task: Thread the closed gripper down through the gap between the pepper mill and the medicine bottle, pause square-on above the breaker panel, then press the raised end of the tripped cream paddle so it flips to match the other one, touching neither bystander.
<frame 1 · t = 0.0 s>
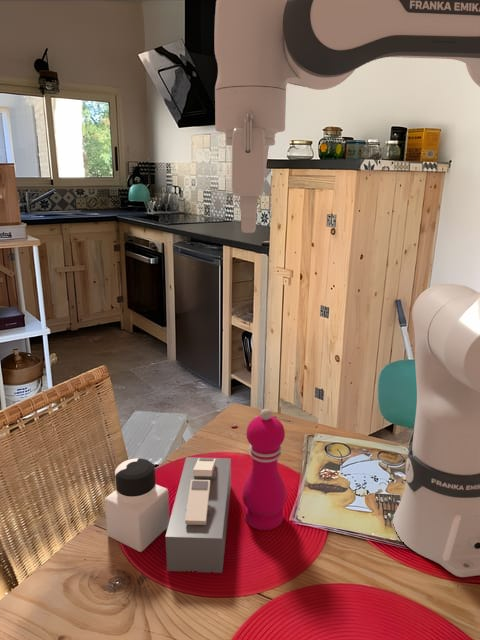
hand: (249, 227, 67), 48 cm above the table, fingers open, 8 cm apart
paddle on: (198, 501, 75), point 8 cm above the table, hinge at -18.0°
paddle tripped: (204, 466, 83), point 8 cm above the table, hinge at 18.0°
medicine bottle: (139, 532, 80), on the table
pepper mill: (263, 518, 83), on the table
breaker panel: (202, 524, 81), on the table
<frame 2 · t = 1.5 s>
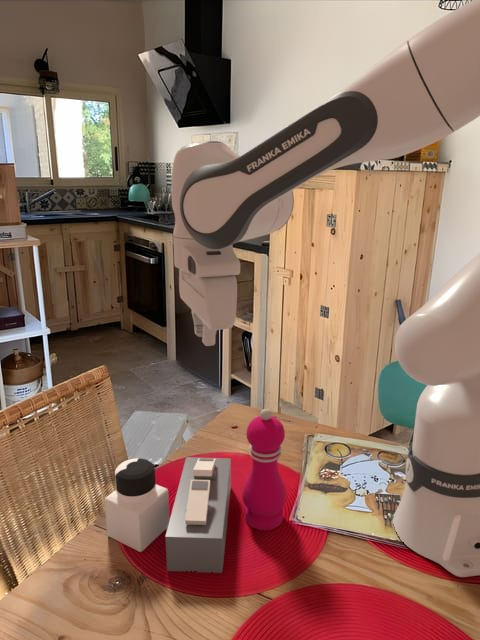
hand: (204, 339, 80), 29 cm above the table, fingers open, 3 cm apart
nothing on the table moved.
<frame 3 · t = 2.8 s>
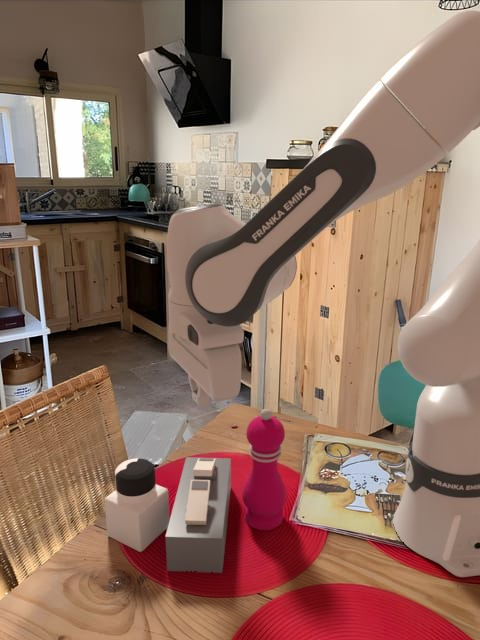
hand: (200, 402, 77), 21 cm above the table, fingers closed
nothing on the table moved.
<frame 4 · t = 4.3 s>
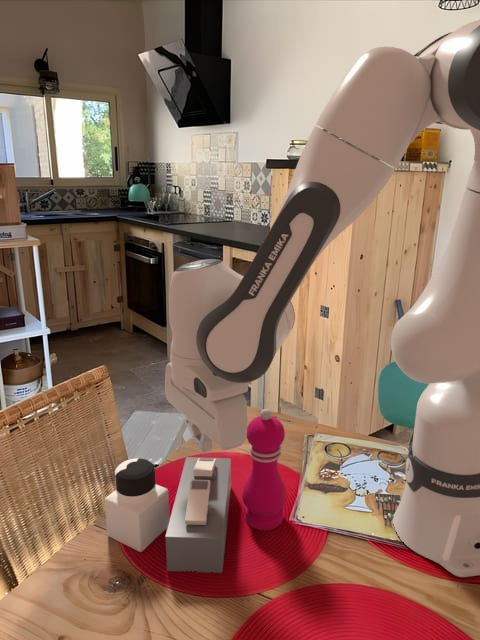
hand: (202, 447, 79), 13 cm above the table, fingers closed
nothing on the table moved.
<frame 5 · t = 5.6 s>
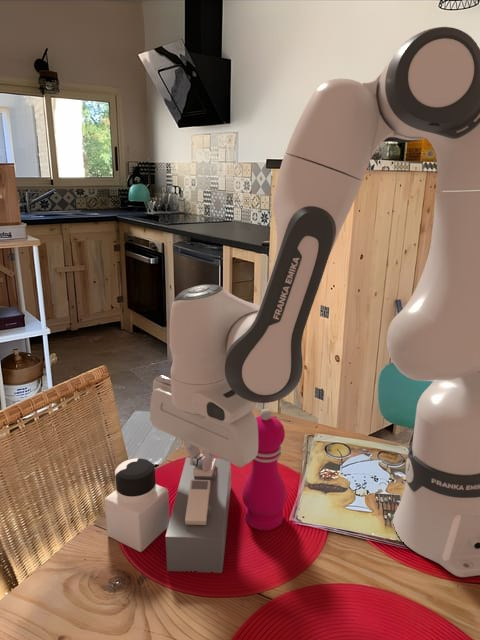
hand: (201, 467, 81), 9 cm above the table, fingers closed, pressing on paddle tripped
paddle tripped: (204, 466, 83), point 8 cm above the table, hinge at 17.9°, touching gripper
everything else where it was.
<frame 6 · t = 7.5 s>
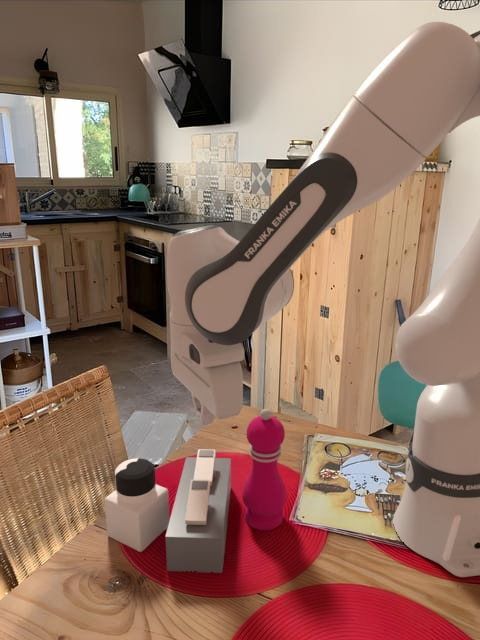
hand: (204, 420, 78), 18 cm above the table, fingers closed
paddle tripped: (204, 466, 83), point 8 cm above the table, hinge at -13.3°
everything else where it was.
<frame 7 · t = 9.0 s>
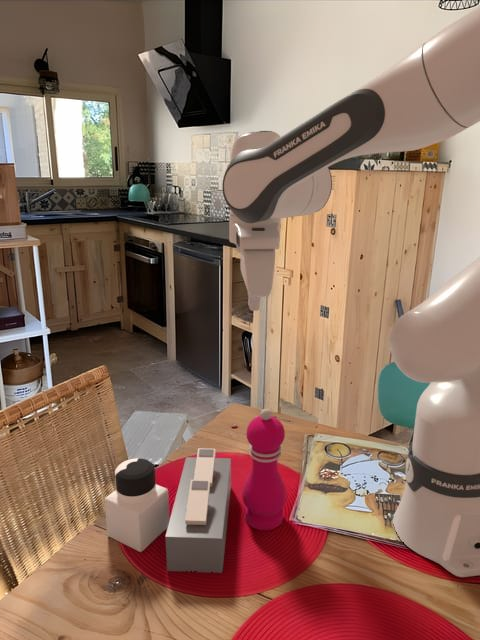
hand: (253, 308, 90), 31 cm above the table, fingers closed
paddle tripped: (204, 466, 83), point 8 cm above the table, hinge at -17.8°
everything else where it was.
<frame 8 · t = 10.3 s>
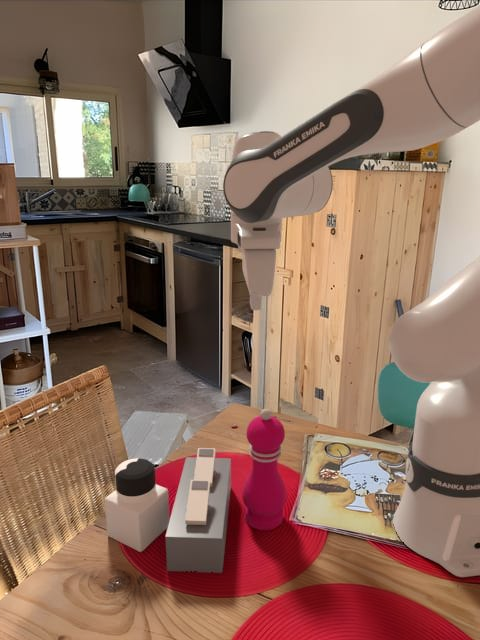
hand: (255, 308, 91), 31 cm above the table, fingers closed
paddle tripped: (204, 466, 83), point 8 cm above the table, hinge at -19.6°
everything else where it was.
at the end: paddle tripped at -20° (first picture: +18°); pepper mill moved 0.2 cm from its start; medicine bottle moved 0.2 cm from its start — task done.
